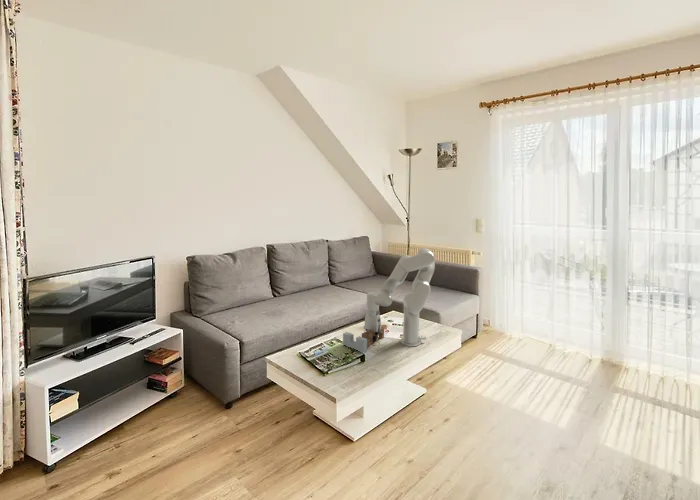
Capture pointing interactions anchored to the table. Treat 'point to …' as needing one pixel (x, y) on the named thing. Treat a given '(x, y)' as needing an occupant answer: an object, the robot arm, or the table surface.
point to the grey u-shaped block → (358, 345)
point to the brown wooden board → (370, 334)
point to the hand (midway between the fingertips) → (372, 340)
